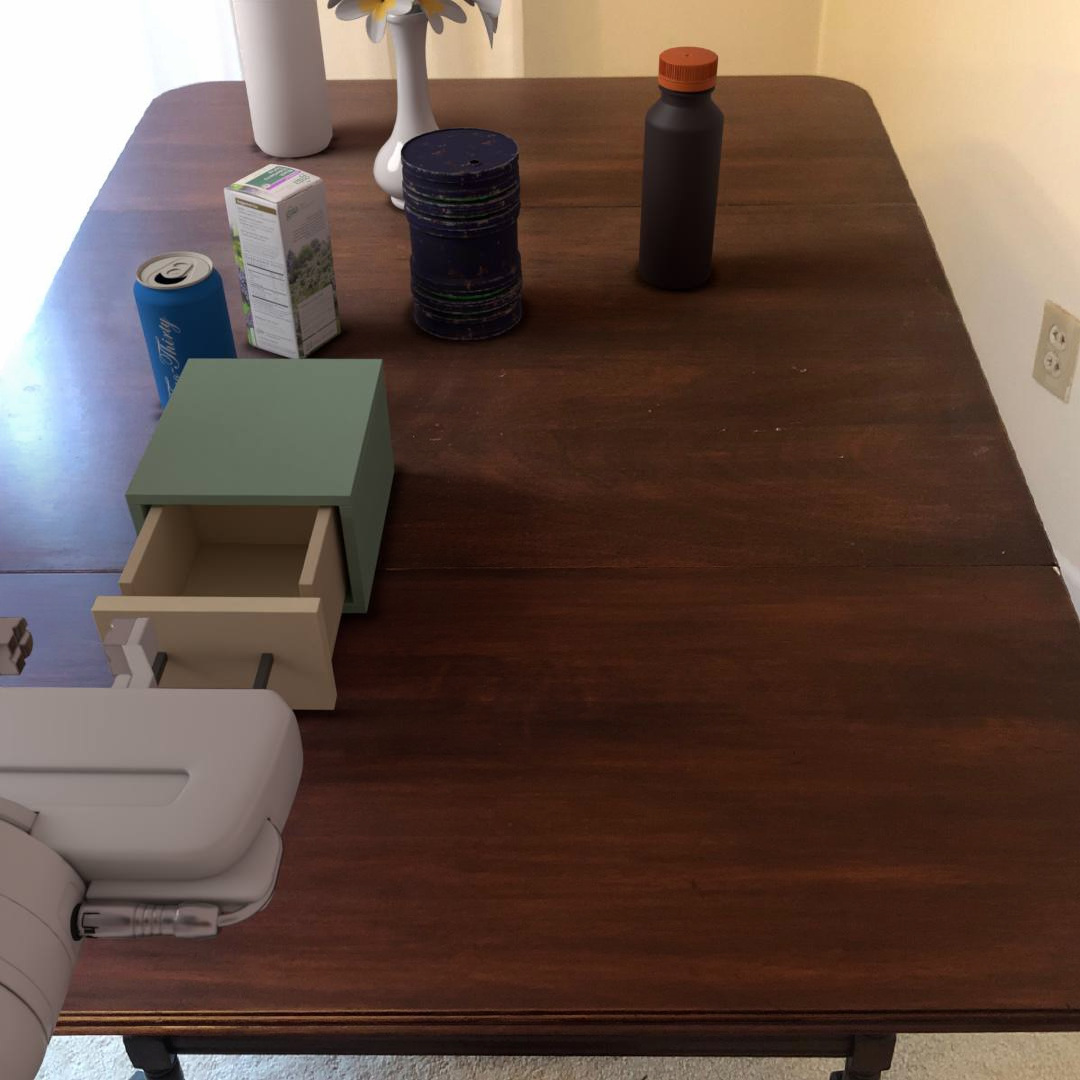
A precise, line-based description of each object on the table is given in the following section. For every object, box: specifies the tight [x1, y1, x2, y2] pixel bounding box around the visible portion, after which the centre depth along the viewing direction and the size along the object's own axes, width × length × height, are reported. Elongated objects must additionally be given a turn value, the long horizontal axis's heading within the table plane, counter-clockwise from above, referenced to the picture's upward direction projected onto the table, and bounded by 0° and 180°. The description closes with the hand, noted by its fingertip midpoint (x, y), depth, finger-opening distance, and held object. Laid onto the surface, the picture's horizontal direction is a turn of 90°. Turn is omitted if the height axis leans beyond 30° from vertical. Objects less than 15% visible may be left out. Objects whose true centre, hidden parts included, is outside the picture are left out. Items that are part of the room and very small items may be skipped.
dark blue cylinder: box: [401, 127, 524, 341], centre depth 104 cm, size 10×10×15 cm
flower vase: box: [326, 0, 502, 211], centre depth 120 cm, size 13×18×25 cm
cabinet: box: [124, 358, 395, 614], centre depth 82 cm, size 16×14×10 cm
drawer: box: [90, 505, 349, 711], centre depth 73 cm, size 19×12×8 cm, turn 179°
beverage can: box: [132, 251, 238, 411], centre depth 94 cm, size 6×6×12 cm
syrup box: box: [223, 163, 342, 359], centre depth 101 cm, size 6×6×14 cm
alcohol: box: [231, 0, 334, 158], centre depth 130 cm, size 9×9×30 cm
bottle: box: [637, 46, 725, 291], centre depth 108 cm, size 7×7×20 cm
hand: (74, 628), depth 49 cm, fingers open, 4 cm apart
